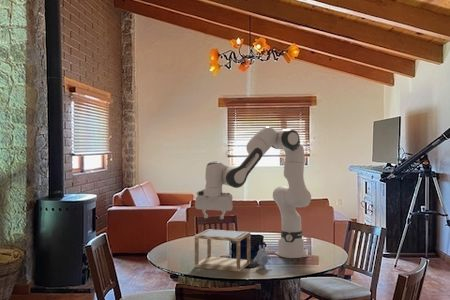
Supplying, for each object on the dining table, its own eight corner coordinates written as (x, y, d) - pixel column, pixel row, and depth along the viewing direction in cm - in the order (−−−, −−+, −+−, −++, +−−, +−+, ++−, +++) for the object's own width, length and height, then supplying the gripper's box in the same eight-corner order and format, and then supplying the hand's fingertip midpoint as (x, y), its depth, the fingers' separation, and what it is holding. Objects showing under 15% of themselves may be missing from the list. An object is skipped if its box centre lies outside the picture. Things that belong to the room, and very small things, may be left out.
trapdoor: (245, 238, 246) (245, 232, 246) (236, 244, 233) (236, 237, 233) (210, 236, 253) (210, 230, 253) (199, 241, 240) (199, 234, 240)
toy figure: (256, 271, 231) (256, 247, 231) (250, 268, 236) (250, 244, 236) (274, 268, 236) (274, 244, 236) (267, 265, 242) (267, 242, 242)
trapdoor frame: (250, 263, 247) (250, 232, 247) (239, 271, 230) (239, 238, 230) (208, 259, 256) (208, 229, 255) (194, 267, 239) (194, 235, 239)
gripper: (234, 192, 243) (234, 218, 244) (198, 191, 251) (198, 216, 251) (230, 193, 238) (230, 220, 238) (193, 192, 245) (194, 218, 245)
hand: (213, 218), depth 244 cm, fingers open, 8 cm apart
